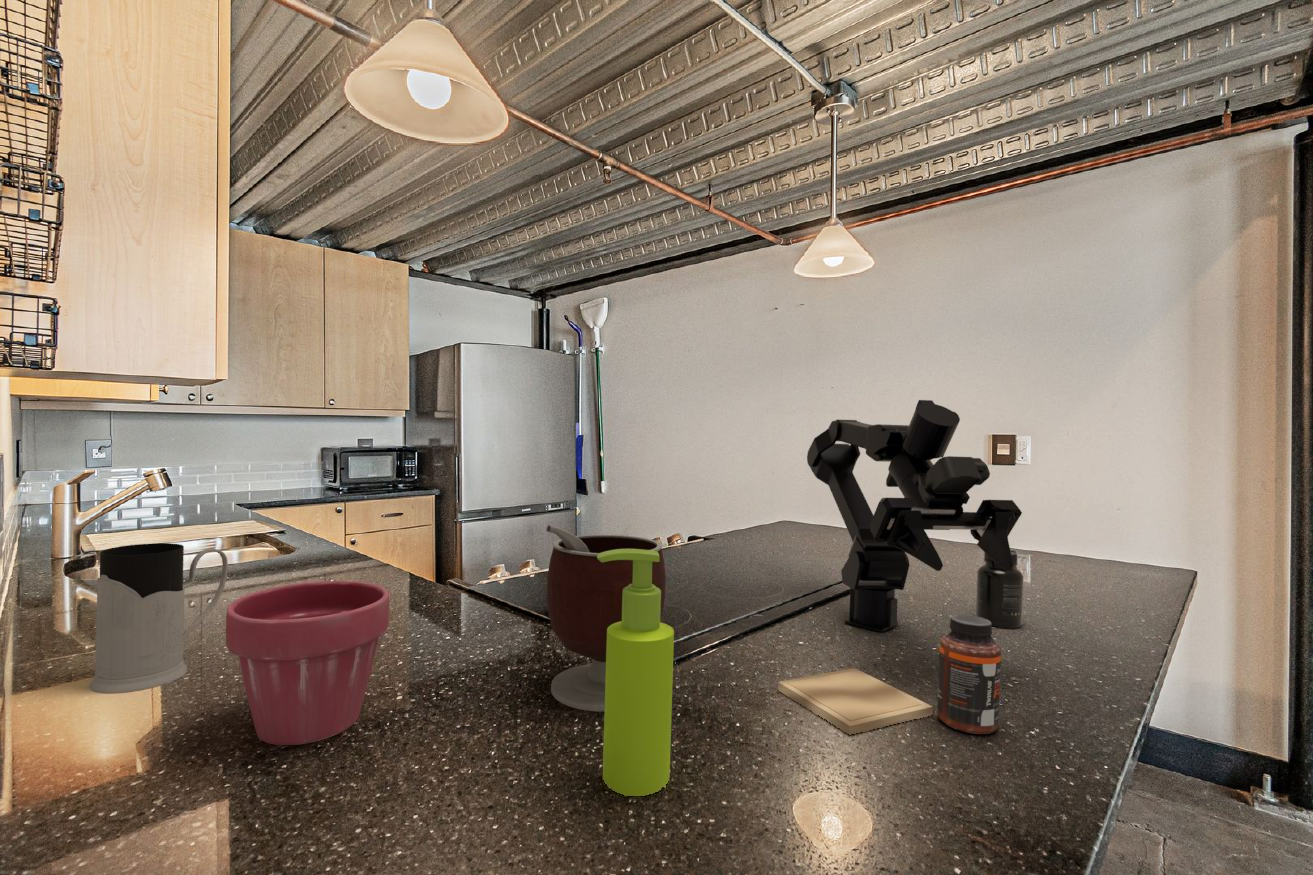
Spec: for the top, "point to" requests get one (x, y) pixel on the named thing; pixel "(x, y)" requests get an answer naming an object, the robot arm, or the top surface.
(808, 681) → the coaster
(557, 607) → the mate gourd
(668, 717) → the soap dispenser
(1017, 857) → the top surface
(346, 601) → the plant pot
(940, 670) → the supplement bottle
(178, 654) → the glass holder
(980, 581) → the supplement bottle
